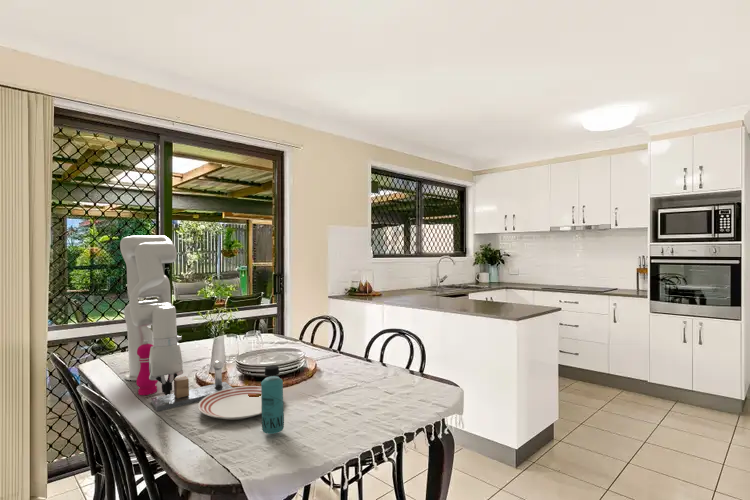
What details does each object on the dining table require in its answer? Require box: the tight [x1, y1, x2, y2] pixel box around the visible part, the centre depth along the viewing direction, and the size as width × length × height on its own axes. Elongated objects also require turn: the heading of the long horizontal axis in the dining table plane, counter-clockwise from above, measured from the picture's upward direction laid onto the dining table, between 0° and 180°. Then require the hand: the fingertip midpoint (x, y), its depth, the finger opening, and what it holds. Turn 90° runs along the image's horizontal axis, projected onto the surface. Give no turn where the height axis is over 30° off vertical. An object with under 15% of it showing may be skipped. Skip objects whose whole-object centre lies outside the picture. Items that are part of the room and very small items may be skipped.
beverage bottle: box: [260, 365, 285, 435], centre depth 125 cm, size 6×7×20 cm
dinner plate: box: [197, 385, 262, 421], centre depth 145 cm, size 28×27×3 cm
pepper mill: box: [136, 340, 159, 396], centre depth 161 cm, size 7×7×20 cm
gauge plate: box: [150, 360, 234, 412], centre depth 155 cm, size 10×26×12 cm, turn 128°
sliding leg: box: [173, 375, 190, 398], centre depth 153 cm, size 4×4×6 cm
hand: (167, 393), depth 150 cm, fingers closed
